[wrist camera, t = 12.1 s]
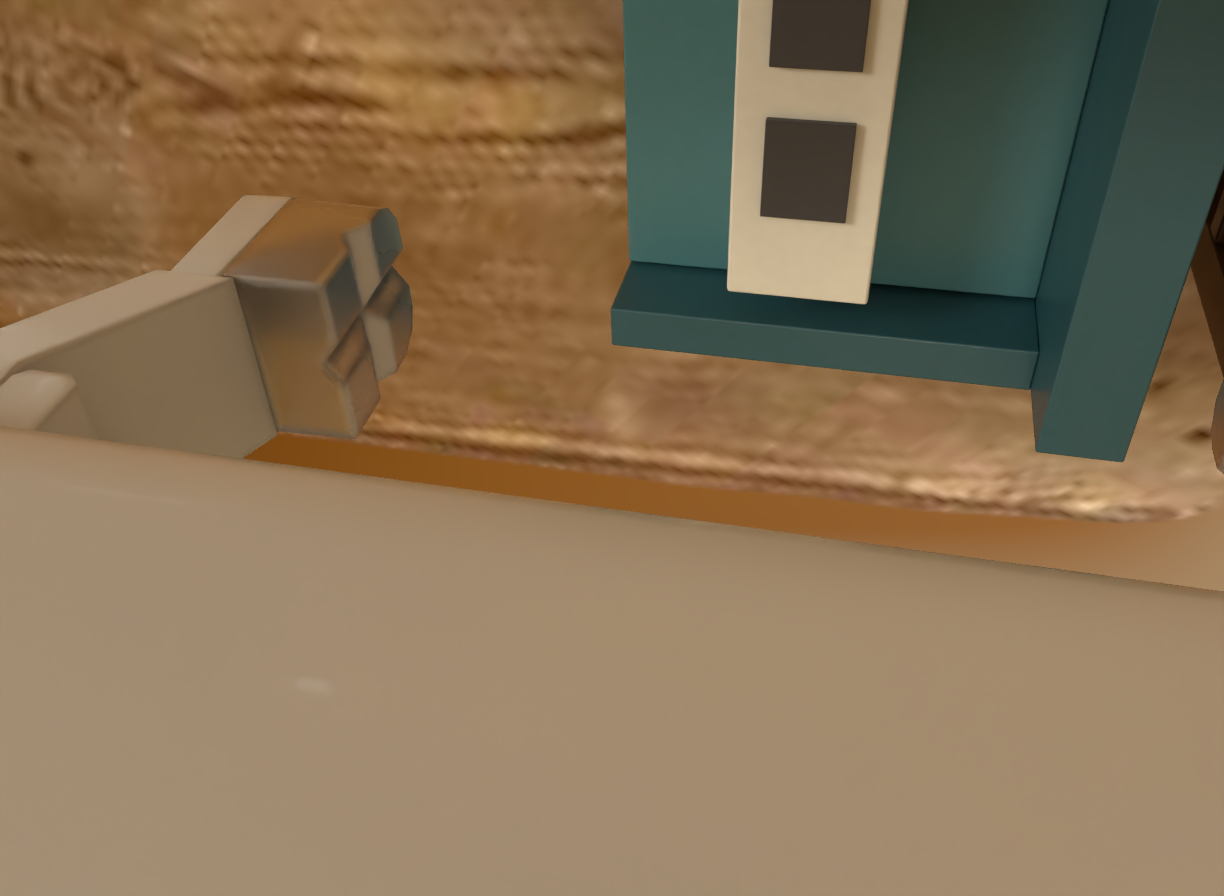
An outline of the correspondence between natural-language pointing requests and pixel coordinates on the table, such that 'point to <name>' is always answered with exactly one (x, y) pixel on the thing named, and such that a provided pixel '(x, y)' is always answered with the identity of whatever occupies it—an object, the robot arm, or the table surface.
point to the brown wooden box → (1212, 270)
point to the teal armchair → (954, 202)
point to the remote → (811, 144)
